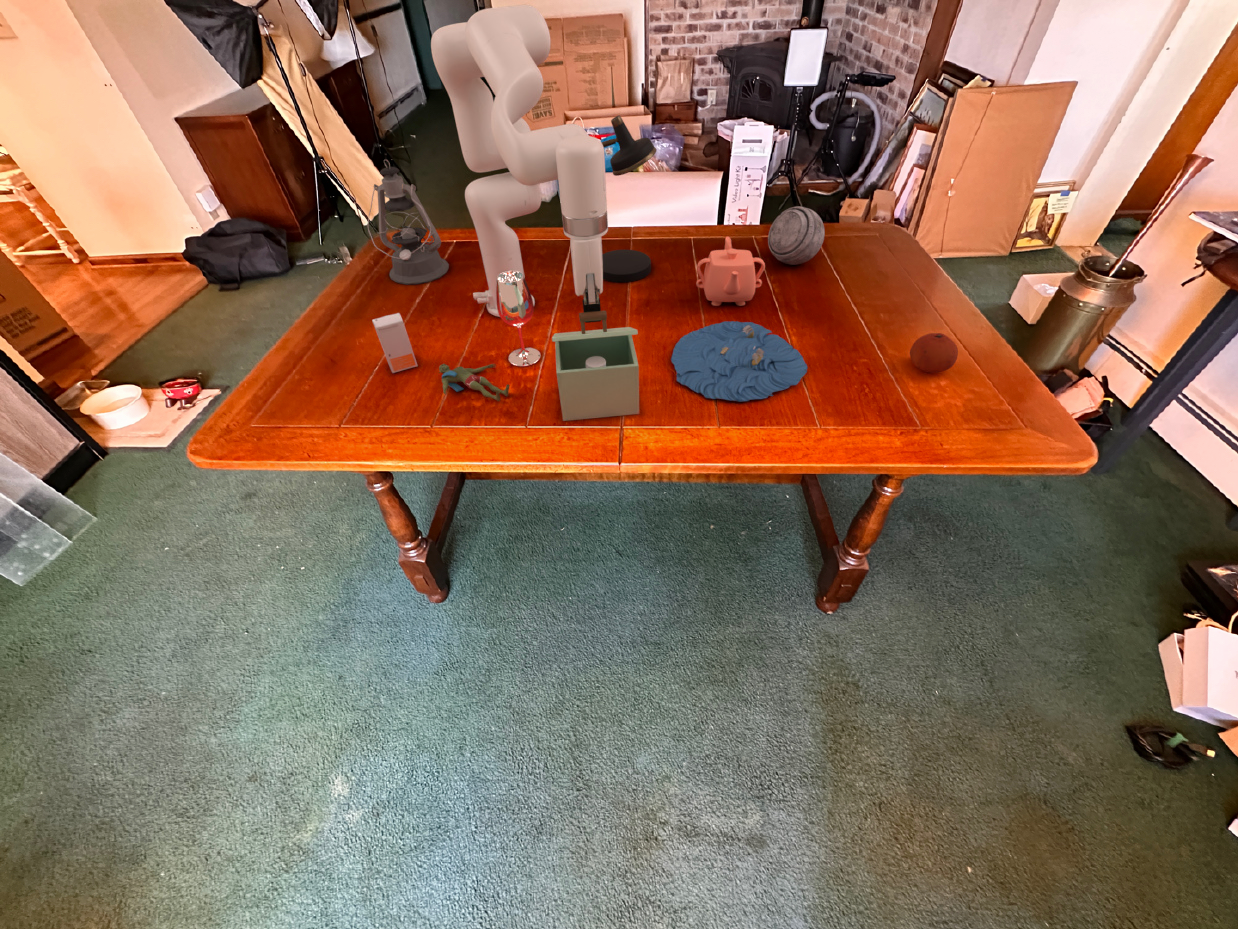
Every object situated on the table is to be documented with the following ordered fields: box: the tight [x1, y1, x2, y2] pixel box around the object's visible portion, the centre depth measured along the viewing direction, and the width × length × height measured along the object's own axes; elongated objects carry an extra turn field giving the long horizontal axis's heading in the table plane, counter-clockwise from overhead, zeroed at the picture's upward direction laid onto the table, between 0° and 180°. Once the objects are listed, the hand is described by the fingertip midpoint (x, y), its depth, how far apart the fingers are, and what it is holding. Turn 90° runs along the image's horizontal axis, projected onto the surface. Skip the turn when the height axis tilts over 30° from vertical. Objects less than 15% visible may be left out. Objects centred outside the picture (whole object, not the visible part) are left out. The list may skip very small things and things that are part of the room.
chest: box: [554, 335, 640, 422], centre depth 114 cm, size 13×16×12 cm
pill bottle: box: [586, 356, 606, 368], centre depth 113 cm, size 5×5×10 cm
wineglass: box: [496, 271, 542, 367], centre depth 123 cm, size 8×8×20 cm
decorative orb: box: [767, 205, 826, 266], centre depth 154 cm, size 15×14×15 cm
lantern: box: [367, 159, 450, 286], centre depth 152 cm, size 18×20×30 cm
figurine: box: [438, 363, 510, 402], centre depth 121 cm, size 16×4×18 cm
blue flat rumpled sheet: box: [670, 320, 809, 403], centre depth 123 cm, size 30×30×5 cm
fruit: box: [909, 332, 959, 374], centre depth 119 cm, size 9×9×8 cm
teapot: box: [695, 236, 766, 307], centre depth 142 cm, size 15×17×13 cm
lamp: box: [601, 114, 657, 284], centre depth 147 cm, size 16×22×38 cm
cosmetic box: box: [371, 312, 419, 374], centre depth 125 cm, size 6×4×12 cm
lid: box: [551, 310, 639, 343], centre depth 107 cm, size 13×16×5 cm
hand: (592, 319), depth 106 cm, fingers closed
